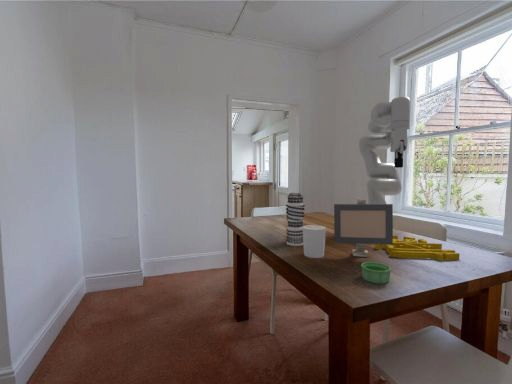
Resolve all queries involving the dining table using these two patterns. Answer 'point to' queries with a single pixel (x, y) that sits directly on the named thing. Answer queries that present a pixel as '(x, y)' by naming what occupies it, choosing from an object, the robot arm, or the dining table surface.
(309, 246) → the candle holder
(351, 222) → the picture frame
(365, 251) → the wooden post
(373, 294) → the dining table surface
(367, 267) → the ramekin
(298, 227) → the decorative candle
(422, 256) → the decorative art
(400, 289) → the dining table surface
